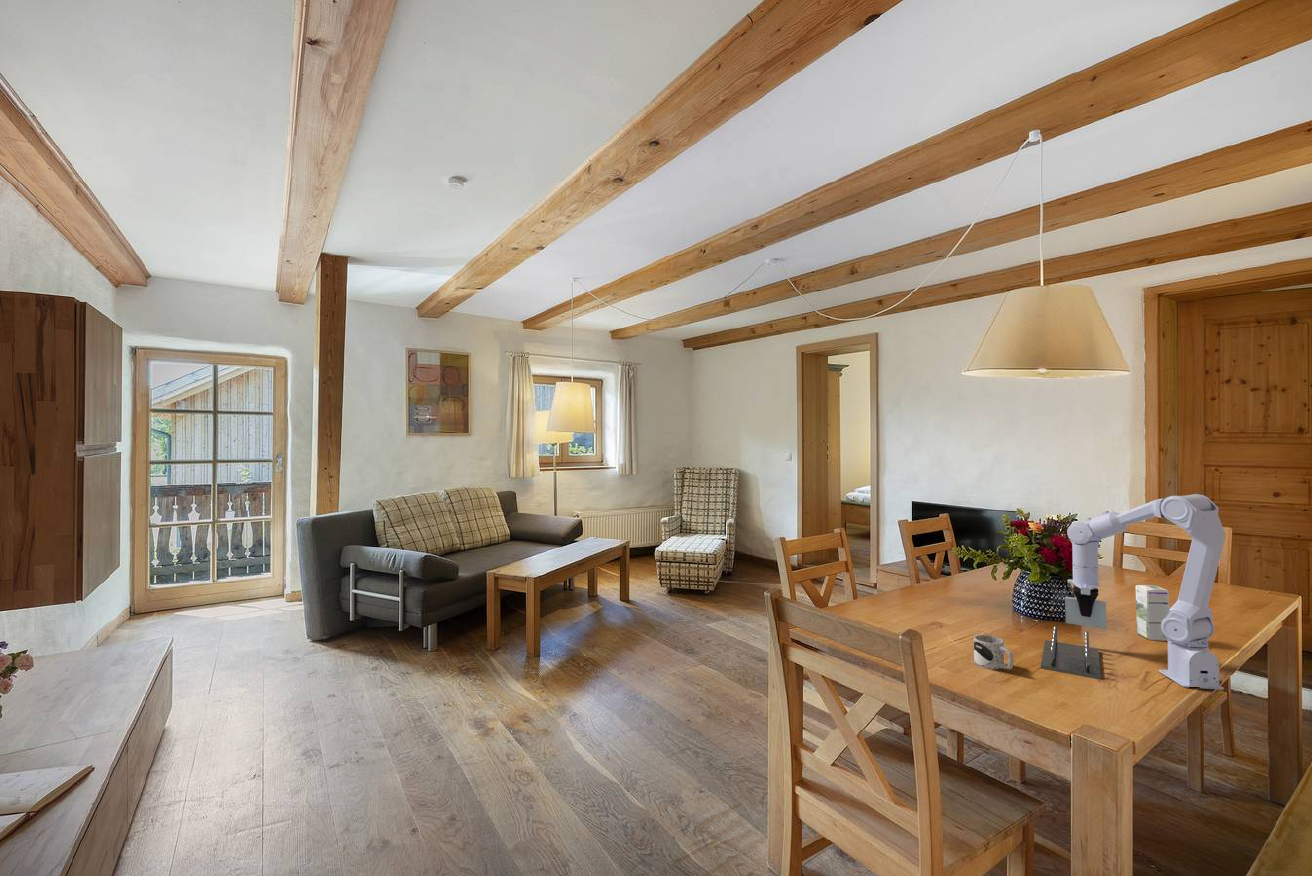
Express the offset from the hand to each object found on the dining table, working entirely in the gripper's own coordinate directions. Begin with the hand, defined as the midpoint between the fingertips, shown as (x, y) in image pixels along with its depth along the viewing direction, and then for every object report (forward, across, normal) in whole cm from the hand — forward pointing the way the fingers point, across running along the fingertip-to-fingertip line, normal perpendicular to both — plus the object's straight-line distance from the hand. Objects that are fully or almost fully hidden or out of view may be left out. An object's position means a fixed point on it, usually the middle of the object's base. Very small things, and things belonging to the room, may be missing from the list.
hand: (1085, 615), depth 161 cm
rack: (+9, +13, -3) cm, 16 cm away
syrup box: (+9, -21, +15) cm, 28 cm away
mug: (+9, +30, -19) cm, 36 cm away
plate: (+3, 0, 0) cm, 3 cm away
